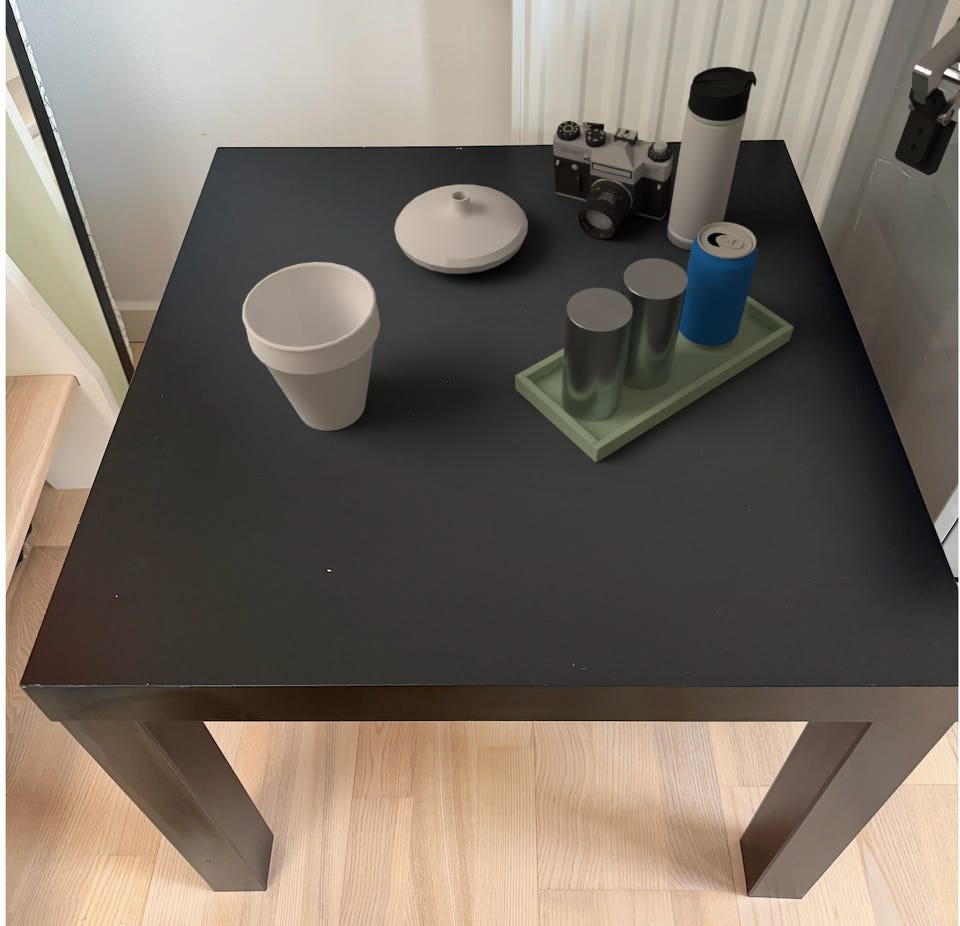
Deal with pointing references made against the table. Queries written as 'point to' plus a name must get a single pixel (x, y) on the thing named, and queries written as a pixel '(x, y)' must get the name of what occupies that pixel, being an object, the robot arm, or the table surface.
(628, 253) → the table surface
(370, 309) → the white flower pot
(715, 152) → the travel mug
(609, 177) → the camera
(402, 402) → the table surface
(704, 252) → the beverage can
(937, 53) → the robot arm
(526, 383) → the tray
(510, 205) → the vase
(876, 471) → the table surface
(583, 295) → the can
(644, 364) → the can
